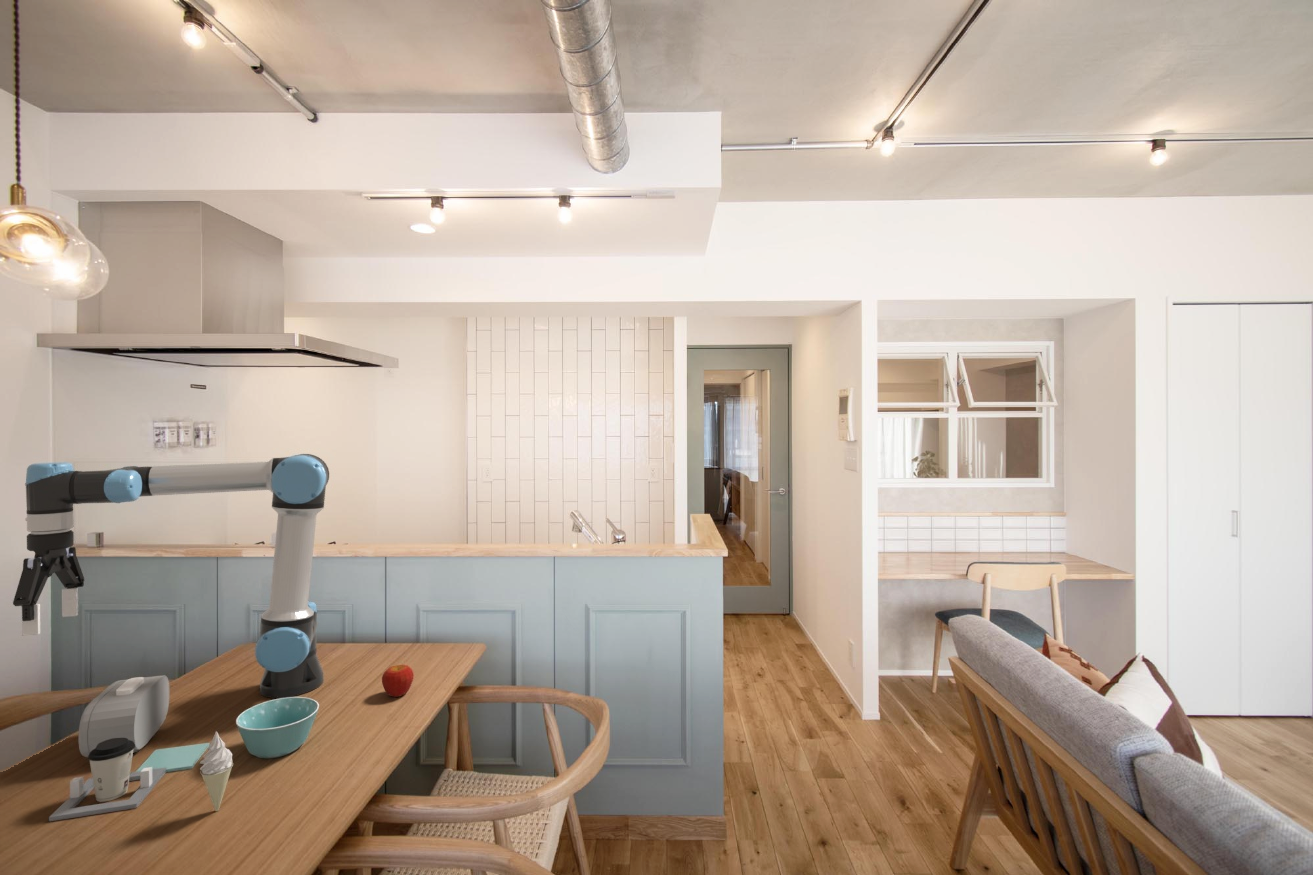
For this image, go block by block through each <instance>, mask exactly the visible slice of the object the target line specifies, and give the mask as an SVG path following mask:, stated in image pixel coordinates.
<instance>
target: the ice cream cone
mask: <svg viewBox="0 0 1313 875" xmlns="http://www.w3.org/2000/svg"><path fill="white" fill-rule="evenodd" d="M207 750H208V751H207V752H206V753H205V754H204V755H202V758H203V759H202V760H200V761H199V764H200V765H201V764H203V765H201V767H200V768H199V770H200V773H199V774H200V775H201V776H202V778H203V779H202V780H203V781H204V784H205V786H206V790H207V792H208V795H209V798H210V800H211V803H212V806H213V808H214V811H215V812H218V811H219V810H220V807H221V803H222V800H223V797H224V794H225V791H226V787H227V785H228V781H229V777H230V776H231V771H232V767H233V766H234V762H233V753H232V751H231V750H230V749H229V748H226V742H224V741H223V740H222V738H221V737H220V735H219V733H218V731H217V730H216V731H215V733H214V735H213V738H212V740H211V741H210V743H209V747H208V748H207Z"/></svg>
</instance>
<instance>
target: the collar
mask: <svg viewBox="0 0 1313 875" xmlns="http://www.w3.org/2000/svg"><path fill="white" fill-rule="evenodd" d="M166 769H167V767H166V768H159V769H152V767H148V768H143V770H142V771H137V770H136V771H137V772H136V771H130V777H129V782H133V781H140V784H139V785H140V786H139V787H138V788H137V790H136V791H135V792H134V793H133V794H132V795H131V797H130V798H129V799H123V800H118V801H111V802H110V801H108V802H105V803H104V802H102V803H99V804H92V805H85V806H79V807H78V805H79V804H80V803H81V802H82V801H83V800H84V799H85V798H86V797H88V796H89V794H90V793H91V792H92V791H93V789H94V784H93V778H92V777H90V778H87V780H86V781H84V776H77V777H73V778H72V779H70V781H69V797H68V798H67V799H66V800H65V801H64V802H63V803H62V804H61V805H60V806H59V807H58V808H57V809H56V810H55V811H53V813H51V815H49V816H48V821H49V822H55V821H61V820H62V821H63V820H68V819H74V818H81V817H88V816H92V815H93V816H94V815H100V814H105V813H114V812H119V811H125V810H127V811H128V810H132V809H137V808H138V807H139V806H140V805H141V804H142V802H143V801H144V800H145V798H146V797H147V796H148V795H149V794H150V793H151V791H152V790H153V789H154V788H155V787H156V786H157V784H158V783H159V782H160V780H161V779H162V778H163V776H165V774H166V773H167V772H166Z"/></svg>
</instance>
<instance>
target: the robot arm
mask: <svg viewBox="0 0 1313 875" xmlns="http://www.w3.org/2000/svg"><path fill="white" fill-rule="evenodd" d="M329 470H330V469H329V467H328V465H327V463H326V462H325V461H324V460H323V459H322V458H320V457H319V456H317V455H314V454H311V453H301V454H293V455H292V456H286V457H285V456H284V457H272V458H271V459H270V460H268V461H264V462H263V461H261V462H260V461H256V462H235V463H234V462H233V463H209V464H208V463H207V464H206V463H204V464H202V463H201V464H181V465H154V466H137V465H129V466H124V467H120V468H114V469H106V470H88V471H87V470H85V471H83V470H75V469H74V466H73V464H72V463H71V462H37V463H32V464H30V465H28V466H27V468H26V477H25V478H26V479H25V483H24V485H25V495H26V496H25V497H26V498H25V499H26V500H25V501H26V517H25V521H26V531H27V532H30V533H28V534H27V535H26V549H27V551H30V552H34V557H29V558H28V557H27V558H24V559H23V563H22V571H21V574H20V578H19V581H18V584H17V587H16V588H17V589H16V592H15V594H14V598H13V600H12V605H13V606H14V607H21V636H23V637H25V636H35V635H36V636H38V635H41V603H38V601H39V599H40V597H41V594H42V592H43V590H44V587H45V586H46V583H47V581H48V578H50V577H51V576H53V574H55V575H56V577H57V578H58V579H59V581H60V583H61V584H62V585H63V587H64V588H62V589H61V615H62V616H61V617H62V618H66V617H68V618H69V617H77V616H79V588H82V587H84V585H85V583H84V582H85V577H84V573H83V570H82V568H81V566H80V563H79V559H78V557H77V549H76V547H75V546H74V544H75V543H74V540H75V539H74V537H75V536H74V534H75V533H74V531H73V530H72V529H73V528H74V527H75V526H74V505H82V504H107V503H108V504H110V503H111V504H113V503H114V504H120V503H130V502H131V503H132V502H136V501H137V500H138V499H139V497H154V496H172V495H189V494H190V495H191V494H192V495H193V494H211V493H212V494H214V493H233V492H251V491H252V492H253V491H270V492H271V493H272V498H271V499H272V502H271V508H272V509H273V510H274V511H275V512H276V513H277V522H276V533H275V542H274V543H275V544H274V554H273V561H272V562H273V564H272V574H271V584H270V595H269V606H268V607H267V609H266V610H265V611H264V612H263V613H261V617H260V625H259V626H260V627H259V634H258V635H259V637H258V640H257V642H256V644H255V646H254V654H255V659H256V662H257V663H258V664H259V665H260V666H261V667H262V668H263V669H264V672H263V675H262V677H261V680H260V684H259V693H260V695H262V696H263V697H266V698H273V699H274V698H276V699H280V698H287V697H296V696H299V695H303V694H306V693H309V692H311V691H313V690H315V689H317V688H319V687H320V686H322V684H323V683H324V671H323V668H322V666H321V663H320V660H319V657H318V654H317V614H318V610H317V609H318V608H317V604H316V602H313V601H309V598H310V587H311V578H312V569H313V568H312V567H313V555H314V543H315V533H316V524H317V523H316V522H317V515H318V513H320V512H321V511H323V510H324V508H325V501H326V500H325V499H326V498H325V497H326V486H327V485H328V483H329V480H330V471H329Z"/></svg>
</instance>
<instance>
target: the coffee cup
mask: <svg viewBox="0 0 1313 875" xmlns="http://www.w3.org/2000/svg"><path fill="white" fill-rule="evenodd" d="M134 748H135V743H134V742H133V741H131V740H128V739H127V738H112V739H109V740H105V741H103V742H101V743H98V745H97V746H96V748H95V749H93V750H92V751H91V752H90V753H89V755H88V757H87V760H89V764H90V765H89V766H90V770H91V778H93V784H94V788H93V789H94V795H95V800H96V801H97V802H100V803H101V802H102V803H104V802H105V803H106V802H110V801H114V800H116V799H119V798H120V797H123V796H124V795H126V793H128V791H129V790H128V789H129V783H130V781H129V777H130V772H131V769H132V762H133V756H134V754H133V749H134Z"/></svg>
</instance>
